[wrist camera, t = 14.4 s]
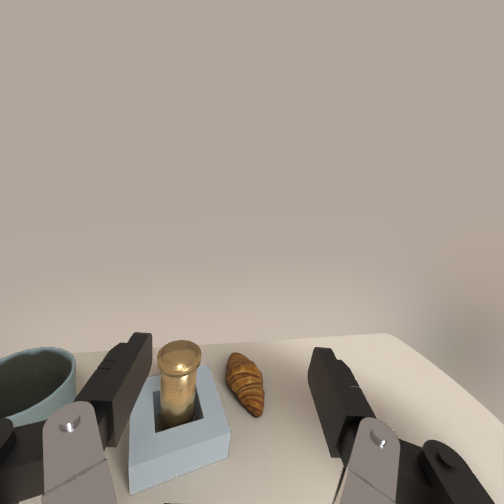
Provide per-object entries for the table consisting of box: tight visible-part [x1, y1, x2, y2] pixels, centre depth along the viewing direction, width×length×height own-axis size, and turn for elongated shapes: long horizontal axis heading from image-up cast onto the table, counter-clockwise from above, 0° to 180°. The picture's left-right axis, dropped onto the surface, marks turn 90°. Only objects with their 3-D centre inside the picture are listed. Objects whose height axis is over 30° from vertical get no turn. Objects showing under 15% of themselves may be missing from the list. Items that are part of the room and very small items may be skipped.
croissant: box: [226, 353, 264, 417], centre depth 44 cm, size 14×7×5 cm, turn 22°
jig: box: [128, 364, 231, 495], centre depth 35 cm, size 12×12×5 cm
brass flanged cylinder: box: [157, 340, 201, 432], centre depth 34 cm, size 5×5×14 cm
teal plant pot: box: [0, 347, 76, 427], centre depth 29 cm, size 10×10×12 cm
